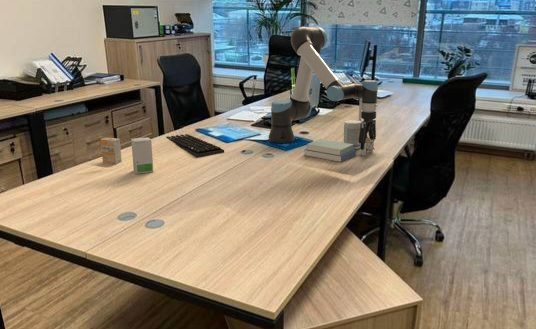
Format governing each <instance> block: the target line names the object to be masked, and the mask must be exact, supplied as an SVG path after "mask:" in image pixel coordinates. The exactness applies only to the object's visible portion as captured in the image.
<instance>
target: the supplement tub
mask: <svg viewBox="0 0 536 329" xmlns="http://www.w3.org/2000/svg"><path fill="white" fill-rule="evenodd" d="M361 121H362V120H361ZM361 121H359V120H354V119H353V120H351V119H350V120H345V121H344V122H343V123H344V125H343V143H349V144H354V150H360V149H359V148H360V143H359V142H358V141H359V134H360V124H361V123H362V122H361Z"/></svg>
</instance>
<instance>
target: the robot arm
mask: <svg viewBox="0 0 536 329" xmlns="http://www.w3.org/2000/svg"><path fill="white" fill-rule="evenodd" d="M327 43H328V36H327V33H326V30H324V29H323V28H322V27H319V26H314V25H313V26H299V27H296V28H295V29H294V30H293V31H292V34H291V36H290V44H291V46H292V49H293V50H294V51H295V53H296V54H297V55H298V56H300V60H299V65H298V69H297V75H296V80H295V85H294V89H293V93H291V94H290V96H289V98H282V99H279V98H278V99H276V100H274V101H272V102H271V108H270V112H271V113H270V114H271V116H270V117H271V118H270V120H271V128H270V131H269V135H268V142H269V143H275V144H288V143H292V142H294V141H295V134H294V131H293V128H292V126H293V125H292V122H293V121H297V120H303V119H306V118H307V117H309V116H310V114H311V112H312V109H313V108H312V104H311V103H312V102H311V101H310V97H309V93H310V87H311V82H312V79H313V75H315V76H316V77H317V79H318V80H319V81H320V83H321V84H322V85H323V86H324V88H325V89H326V96H327V99H328V100H330V101H331V102H339V101H342V100H348V99H359V100H360V99H362V108H361V110H362V111H361V120H362V119H363V120H362V121H363V124H362V123H361V124H360V134H359V141H358V142H359V143H361V146H360V149H359V150H360V151H359V155H360V156H364V157H366V155H367V153H366V143H365V142H366V138H367V136H368V138H370V139H372V140H375V141H376V139H377V127H376V126H377V125H376V124H377V121H376V120H377V108H378V104H377V103H378V101H377V100H378V90H379V89H378V86H379V84H378V81H377V80H374V79H373V80H370V79H369V80H368V79H367V80H363V81H362V83H357V82H345V83H344V84H342V83H341V82H340V80H339V79H338V78H337V77H336V75H335V74H334V73H333V71H332V70H331V68H330V67H329V66H328V65H327V63H326V62H325V61H324V60H323V58H322V57H321V50H322V49H323V48H324V47H326V45H327ZM369 152H371V153H374V149H372V150H370V151H369Z"/></svg>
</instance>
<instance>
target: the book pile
mask: <svg viewBox="0 0 536 329" xmlns="http://www.w3.org/2000/svg"><path fill="white" fill-rule="evenodd" d="M356 151H357V149H354V144H349V143H344V141H342V142H341V141H335V140H330V139H329V140H328V139H324V138H323V139H321V138H320V139H317V140H314V141H311V142H309V143H306V148H305V149H304V151H303V152H304V154H303V155H304V156H307V157H312V158H317V159H322V160H328V161H334V162H340V163H342V162H345V161H347V160H349V159H351V158H353V157H356V154H357V152H356Z"/></svg>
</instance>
